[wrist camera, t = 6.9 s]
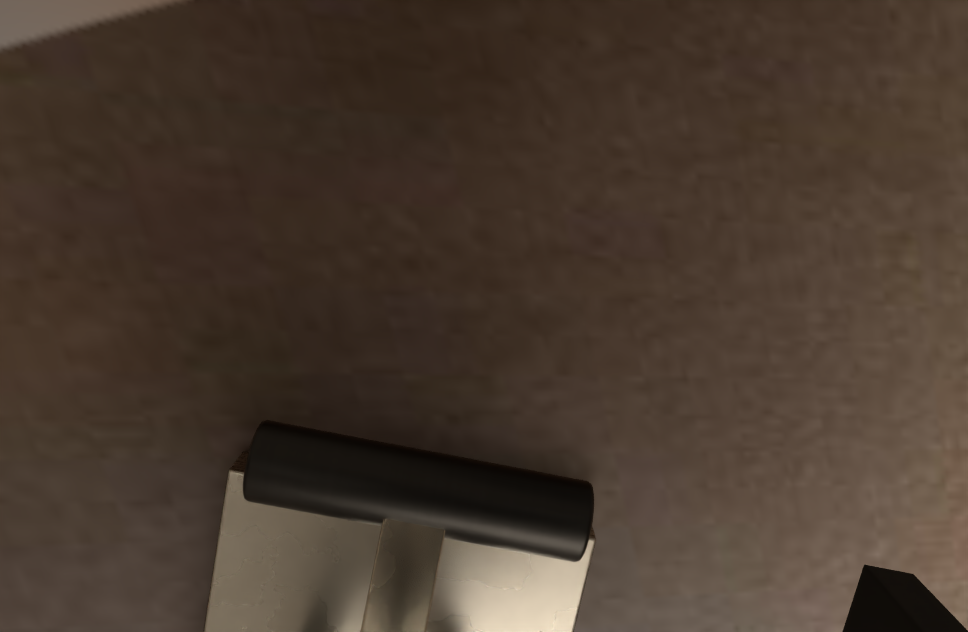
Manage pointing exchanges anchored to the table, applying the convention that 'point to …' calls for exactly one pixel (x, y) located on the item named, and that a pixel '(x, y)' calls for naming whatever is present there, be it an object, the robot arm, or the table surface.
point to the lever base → (348, 569)
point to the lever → (415, 508)
